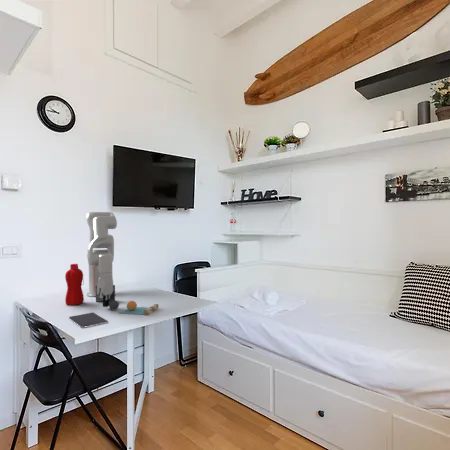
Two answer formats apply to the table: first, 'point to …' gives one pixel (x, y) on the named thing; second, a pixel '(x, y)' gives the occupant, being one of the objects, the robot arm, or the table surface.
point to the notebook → (87, 319)
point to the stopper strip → (151, 309)
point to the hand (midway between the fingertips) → (106, 306)
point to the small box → (112, 296)
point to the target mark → (135, 311)
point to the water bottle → (74, 285)
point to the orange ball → (131, 305)
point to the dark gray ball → (113, 304)
